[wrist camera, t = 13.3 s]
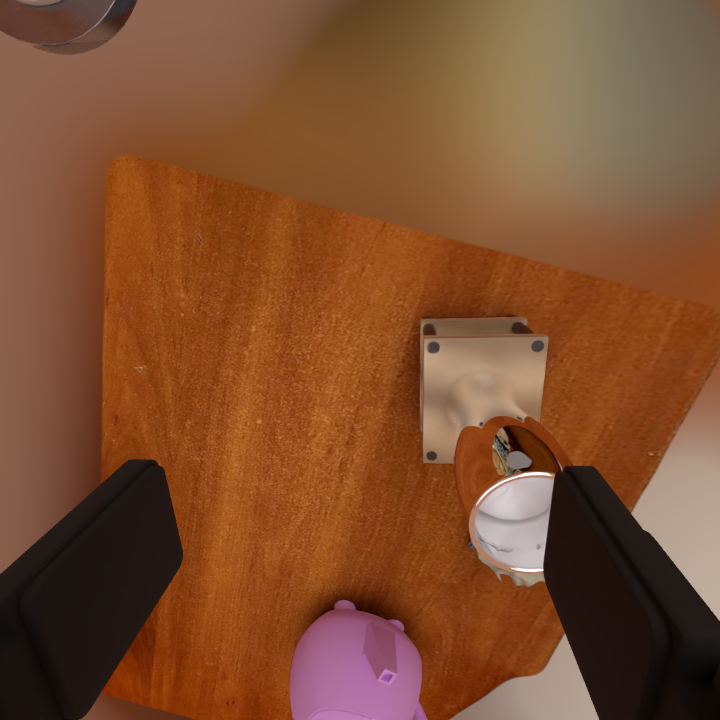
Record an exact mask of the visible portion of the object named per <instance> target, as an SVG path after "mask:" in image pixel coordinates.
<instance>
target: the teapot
mask: <svg viewBox="0 0 720 720" xmlns="http://www.w3.org/2000/svg"><path fill="white" fill-rule="evenodd" d="M403 631H404V625H403V624H402V623H401V622H400V621H398V620H394V619H391V620H385V619H383V618H381V617H379V616H376V615H374V614H371V613H367V612H363V611H358V610H356V607H355V605H354V604H353V603H352V602H350V601H347V600H340V601H338V602H336V603H335V605H334V610H331V611H329V612H326V613H325V614H323V615H322V616H321V617H319V618H318V619H317V620H316V621H315V622H314V623H313V624H312V625H311V626H310V627H309V628H308V629H307V630H306V631H305V633H304V634H303V636H302V637H301V639H300V641H299V642H298V645H297V647H296V649H295V653H294V657H293V662H292V667H291V675H290V701H291V709H292V715H293V720H412V719H413V720H428V719H427V717H426V715H425V713H424V711H423V709H422V707H421V705H420V703H419V701H418V700H419V696H420V690H421V681H422V661H421V657H420V654H419V652H418V650H417V648H416V647H415V645H414V644H413V643H412V641H411V640H410V638H409V637H408V636H407V635H406V634H405V633H404V632H403Z"/></svg>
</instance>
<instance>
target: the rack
mask: <svg viewBox="0 0 720 720" xmlns="http://www.w3.org/2000/svg"><path fill="white" fill-rule="evenodd" d="M548 339H549V337H548V336H547V335H546V334H535V333H534V332H533V331H531V330H530V329H529V328H528V327H527V319H526V318H525V317H515V316H514V315H508V316H506V317H497V318H448V319H432V318H431V317H429V316H426V317H424V318H422V319H420V431H422V459H423V463H451V464H453V454H454V443H455V433H456V430H455V428H454V427H453V426H452V424H451V423H450V421H449V419H448V417H447V414H446V408H445V403H446V398H447V395H448V393H449V391H450V389H451V388H452V386H453V385H454V384H455V383H456V382H457V381H458V380H460V379H461V378H463V377H464V376H466V375H469V374H472V373H476V372H490V373H494V374H497V375H499V376H501V377H503V378H505V379H506V380H507V381H508V382H509V383H510V384H511V385H512V386H513V388H514V390H515V392H516V394H517V397H518V402H519V407H520V408H521V409H522V410H523V411H525V412H526V413H527V414H529V415H530V416H531V417H532V418H533V419H535V420H536V421H537V422H538V423H539V422H540V412H541V403H542V394H543V385H544V376H545V366H546V357H547V348H548Z"/></svg>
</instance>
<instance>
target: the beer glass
mask: <svg viewBox="0 0 720 720" xmlns="http://www.w3.org/2000/svg"><path fill="white" fill-rule="evenodd" d="M445 408H446V414H447V417H448V419H449V421H450V423H451V424H452V426H453V427H454V428H455V430H456V433H455V443H454V454H453V470H454V478H455V485H456V490H457V494H458V498H459V502H460V505H461V508H462V511H463V514H464V517H465V520H466V523H467V526H468V529H469V534H470V538H471V540H472V543H473V545H474V546H475V548H476V549H477V551H478V552H479V553H480V554H481V555H482V556H483V557H484V558H485V559H486V560H487V561H489V562H490V563H492V564H493V565H495V566H497V567H499V568H501V569H504V570H507V571H510V572H515V573H521V574H540V573H543V562H544V554H545V546H546V538H547V531H548V523H549V515H550V507H551V499H552V492H553V484H554V477H555V474H556V473H557V472H562V471H563V469H564V467H565V466H573V464H572V462H571V461H570V459H569V458H568V456H567V454H566V453H565V451H564V450H563V449H562V447H561V446H560V445H559V443H558V442H557V441H556V440H555V438H554V437H553V436H552V435H551V434H550V433H549V432H548V431H547V430H546V429H545V428H544V427H543V426H542V425H541V424H540V423H538V422H537V421H536V420H535V419H533V418H532V417H531V416H530V415H529V414H527V413H526V412H525V411H523V410H522V409H521V408H520V407H519V402H518V397H517V394H516V392H515V390H514V388H513V386H512V385H511V384H510V383H509V382H508V381H507V380H506V379H505V378H503V377H501V376H499V375H497V374H494V373H490V372H476V373H472V374H469V375H466V376H464V377H463V378H461V379H460V380H458V381H457V382H456V383H455V384H454V385H453V386H452V388H451V389H450V391H449V393H448V395H447V398H446V403H445Z"/></svg>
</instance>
